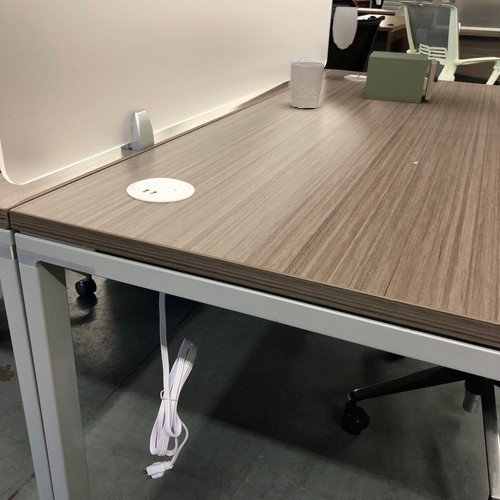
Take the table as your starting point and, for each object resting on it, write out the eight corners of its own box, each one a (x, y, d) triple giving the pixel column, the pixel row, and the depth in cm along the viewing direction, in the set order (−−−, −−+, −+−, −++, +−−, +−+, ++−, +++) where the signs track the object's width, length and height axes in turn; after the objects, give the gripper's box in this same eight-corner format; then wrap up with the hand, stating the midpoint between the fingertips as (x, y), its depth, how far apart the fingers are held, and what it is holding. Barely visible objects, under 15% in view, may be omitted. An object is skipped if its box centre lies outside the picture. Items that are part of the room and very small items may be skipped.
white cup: (283, 103, 126) (285, 61, 121) (311, 102, 128) (314, 60, 124) (296, 110, 119) (299, 66, 115) (326, 109, 122) (330, 65, 117)
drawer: (434, 92, 140) (440, 59, 136) (434, 100, 131) (441, 64, 126) (380, 88, 144) (384, 55, 140) (377, 95, 134) (381, 60, 130)
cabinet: (420, 94, 142) (428, 54, 137) (420, 103, 131) (428, 60, 126) (368, 90, 146) (373, 51, 141) (363, 98, 135) (369, 56, 130)
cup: (326, 80, 159) (333, 7, 149) (329, 76, 165) (335, 6, 156) (349, 81, 158) (358, 8, 148) (351, 78, 164) (359, 7, 154)
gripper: (473, -63, 113) (461, 5, 119) (427, -57, 130) (419, 3, 137) (448, -64, 112) (436, 5, 118) (405, -57, 129) (397, 3, 136)
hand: (426, 4), depth 128 cm, fingers open, 8 cm apart
